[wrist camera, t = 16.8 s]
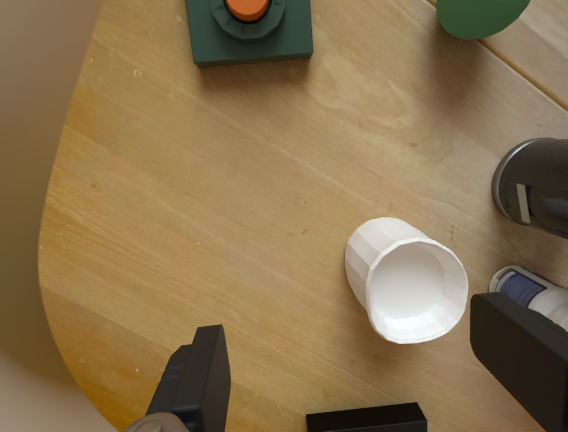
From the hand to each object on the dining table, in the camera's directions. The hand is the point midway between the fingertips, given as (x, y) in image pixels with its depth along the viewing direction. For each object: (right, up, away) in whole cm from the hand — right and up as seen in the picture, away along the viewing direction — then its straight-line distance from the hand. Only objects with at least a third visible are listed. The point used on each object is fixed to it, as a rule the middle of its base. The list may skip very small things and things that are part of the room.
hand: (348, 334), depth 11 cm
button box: (-5, +23, +23) cm, 33 cm away
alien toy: (+15, +24, +24) cm, 37 cm away
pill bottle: (+24, -4, +30) cm, 39 cm away
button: (-5, +22, +19) cm, 30 cm away
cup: (+9, -1, +29) cm, 30 cm away
